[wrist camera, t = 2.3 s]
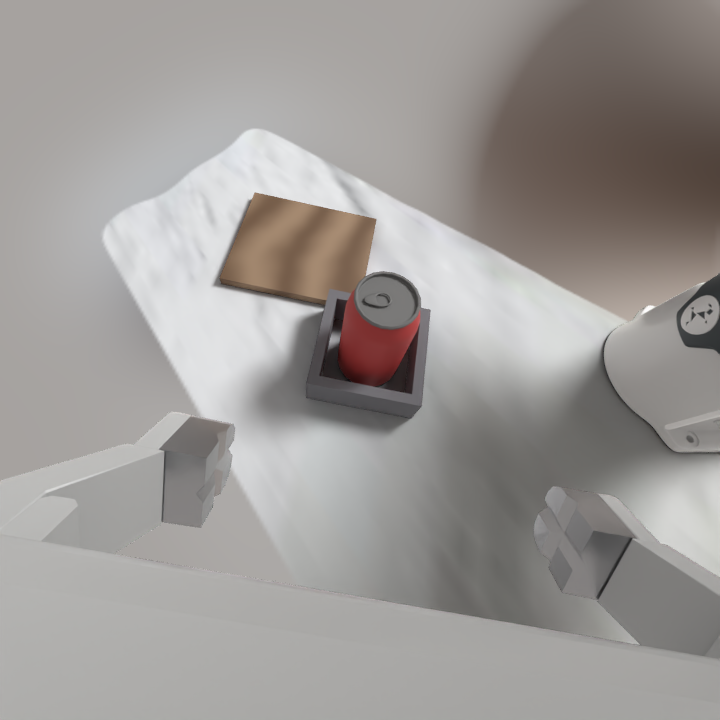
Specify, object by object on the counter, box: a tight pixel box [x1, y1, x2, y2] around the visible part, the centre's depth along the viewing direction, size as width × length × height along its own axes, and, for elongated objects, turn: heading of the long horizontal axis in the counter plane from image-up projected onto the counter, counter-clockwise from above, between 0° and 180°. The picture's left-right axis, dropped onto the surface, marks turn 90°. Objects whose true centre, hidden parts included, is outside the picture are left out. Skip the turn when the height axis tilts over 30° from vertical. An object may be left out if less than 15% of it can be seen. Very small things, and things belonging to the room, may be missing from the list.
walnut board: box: [220, 193, 376, 305], centre depth 46 cm, size 16×14×1 cm
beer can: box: [338, 271, 421, 387], centre depth 36 cm, size 7×7×12 cm
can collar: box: [306, 289, 430, 418], centre depth 39 cm, size 11×11×4 cm
